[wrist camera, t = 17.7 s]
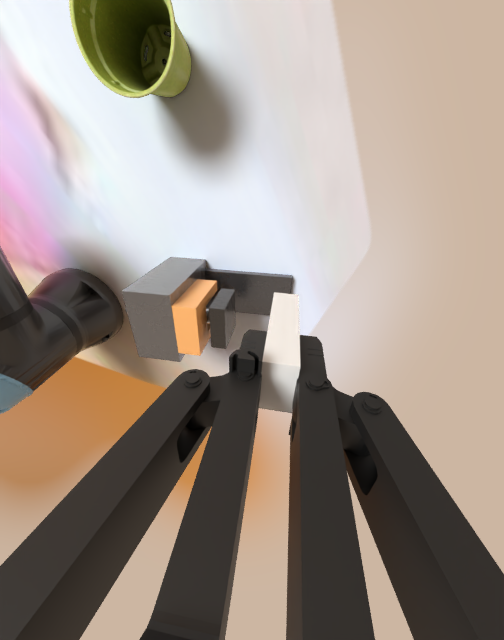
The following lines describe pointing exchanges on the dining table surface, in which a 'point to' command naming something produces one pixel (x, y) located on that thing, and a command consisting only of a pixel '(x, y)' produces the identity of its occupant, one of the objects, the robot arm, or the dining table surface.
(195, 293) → the block
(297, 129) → the dining table surface
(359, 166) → the dining table surface
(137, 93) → the plant pot
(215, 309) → the shaft
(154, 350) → the block
